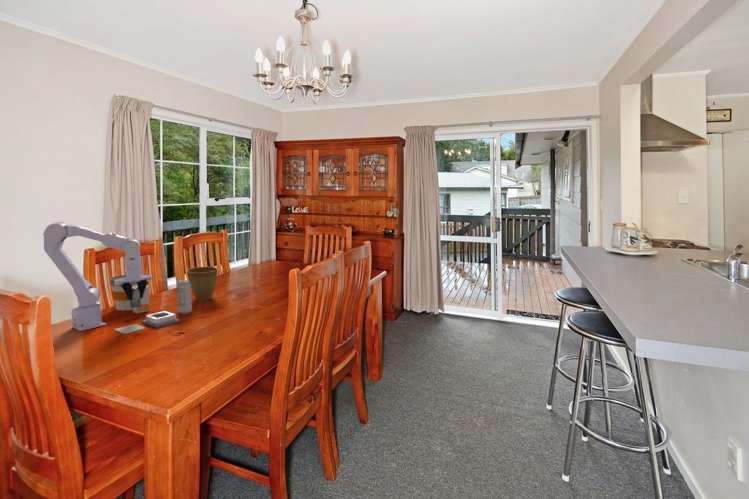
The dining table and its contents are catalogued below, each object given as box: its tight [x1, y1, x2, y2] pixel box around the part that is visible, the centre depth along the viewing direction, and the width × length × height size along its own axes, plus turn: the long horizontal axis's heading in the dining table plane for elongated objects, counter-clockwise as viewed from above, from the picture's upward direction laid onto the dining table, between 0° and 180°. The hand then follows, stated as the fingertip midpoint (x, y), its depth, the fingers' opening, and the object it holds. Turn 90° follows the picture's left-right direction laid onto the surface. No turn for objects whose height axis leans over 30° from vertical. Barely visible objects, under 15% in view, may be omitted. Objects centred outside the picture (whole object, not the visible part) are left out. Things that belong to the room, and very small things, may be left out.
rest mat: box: [114, 323, 146, 335], centre depth 157 cm, size 8×8×1 cm
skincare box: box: [132, 285, 151, 314], centre depth 180 cm, size 6×4×12 cm
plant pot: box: [186, 266, 219, 302], centre depth 203 cm, size 15×15×16 cm
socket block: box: [141, 310, 181, 329], centre depth 166 cm, size 10×12×3 cm
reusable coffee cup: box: [109, 274, 137, 312], centre depth 184 cm, size 13×12×15 cm
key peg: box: [130, 287, 141, 308], centre depth 166 cm, size 4×4×8 cm
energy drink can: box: [175, 279, 193, 315], centre depth 179 cm, size 6×6×15 cm
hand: (135, 298), depth 166 cm, fingers closed on key peg, 4 cm apart
